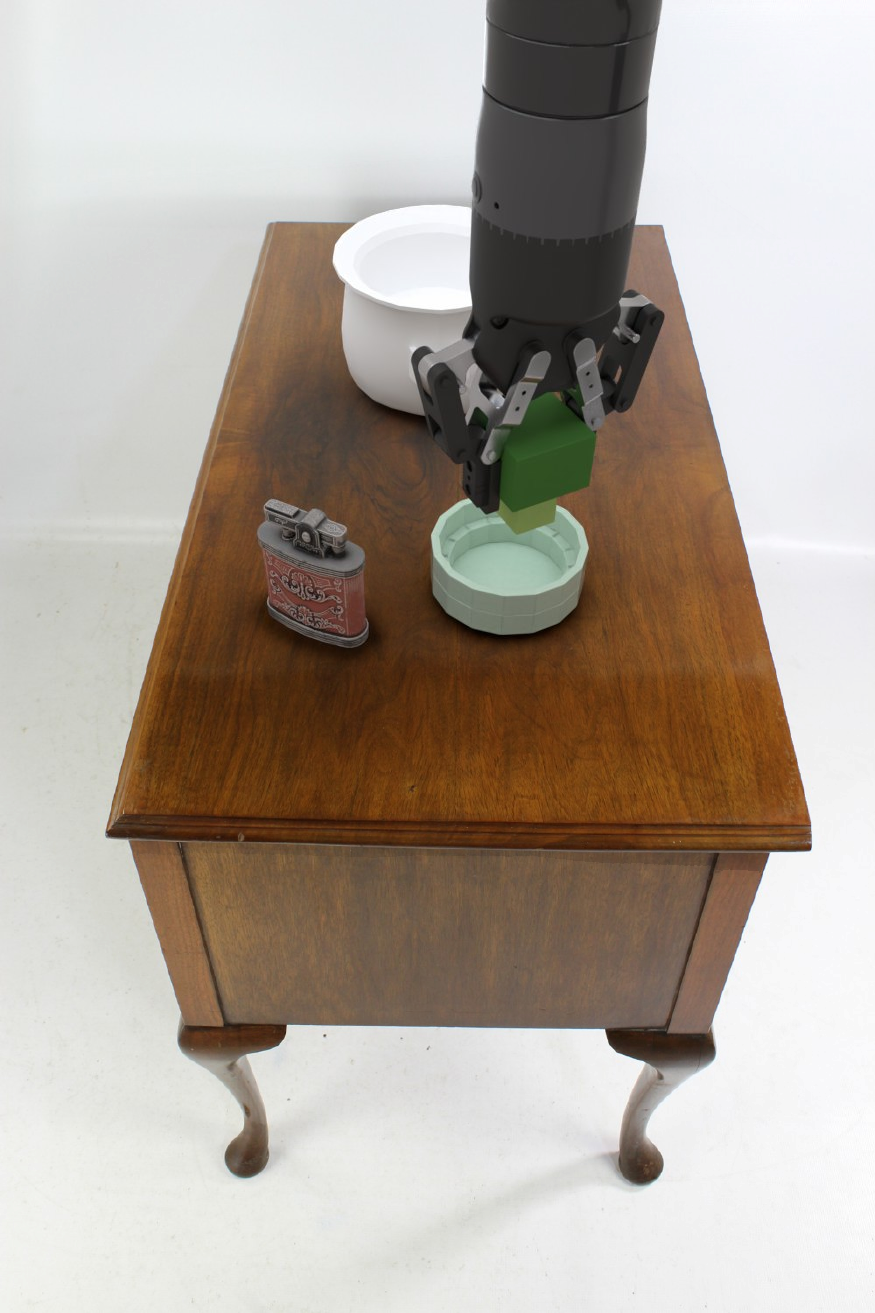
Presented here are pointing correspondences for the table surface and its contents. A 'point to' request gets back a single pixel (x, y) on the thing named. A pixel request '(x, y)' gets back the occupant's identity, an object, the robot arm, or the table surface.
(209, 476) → the table surface
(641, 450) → the table surface
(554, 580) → the bowl
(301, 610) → the lighter
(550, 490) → the broccoli
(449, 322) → the pot
